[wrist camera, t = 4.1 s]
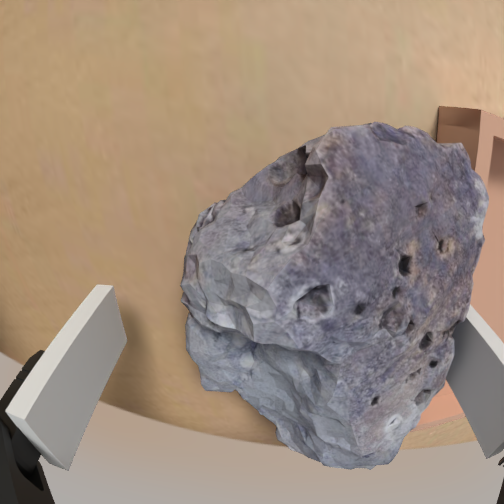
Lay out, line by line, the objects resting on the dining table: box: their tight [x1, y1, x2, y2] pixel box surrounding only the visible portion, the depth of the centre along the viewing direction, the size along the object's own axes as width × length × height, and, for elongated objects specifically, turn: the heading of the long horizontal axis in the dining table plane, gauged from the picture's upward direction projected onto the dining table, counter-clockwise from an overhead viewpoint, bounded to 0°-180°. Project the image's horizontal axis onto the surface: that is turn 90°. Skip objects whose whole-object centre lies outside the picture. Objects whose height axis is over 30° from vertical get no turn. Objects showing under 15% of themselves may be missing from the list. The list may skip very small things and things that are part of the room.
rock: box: [180, 122, 489, 470], centre depth 11 cm, size 14×10×10 cm
